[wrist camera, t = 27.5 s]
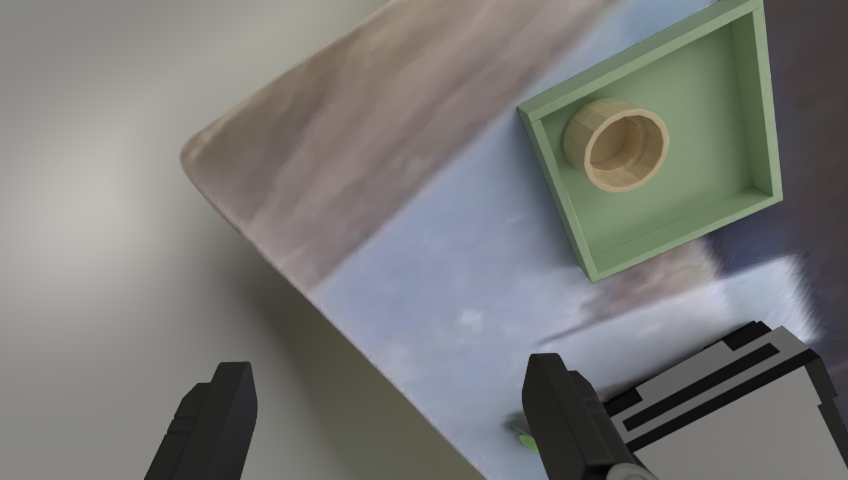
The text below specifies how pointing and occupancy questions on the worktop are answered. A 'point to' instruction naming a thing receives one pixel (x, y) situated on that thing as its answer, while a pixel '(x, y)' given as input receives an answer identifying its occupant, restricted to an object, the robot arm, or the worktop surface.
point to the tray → (670, 138)
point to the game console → (737, 413)
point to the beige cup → (616, 144)
